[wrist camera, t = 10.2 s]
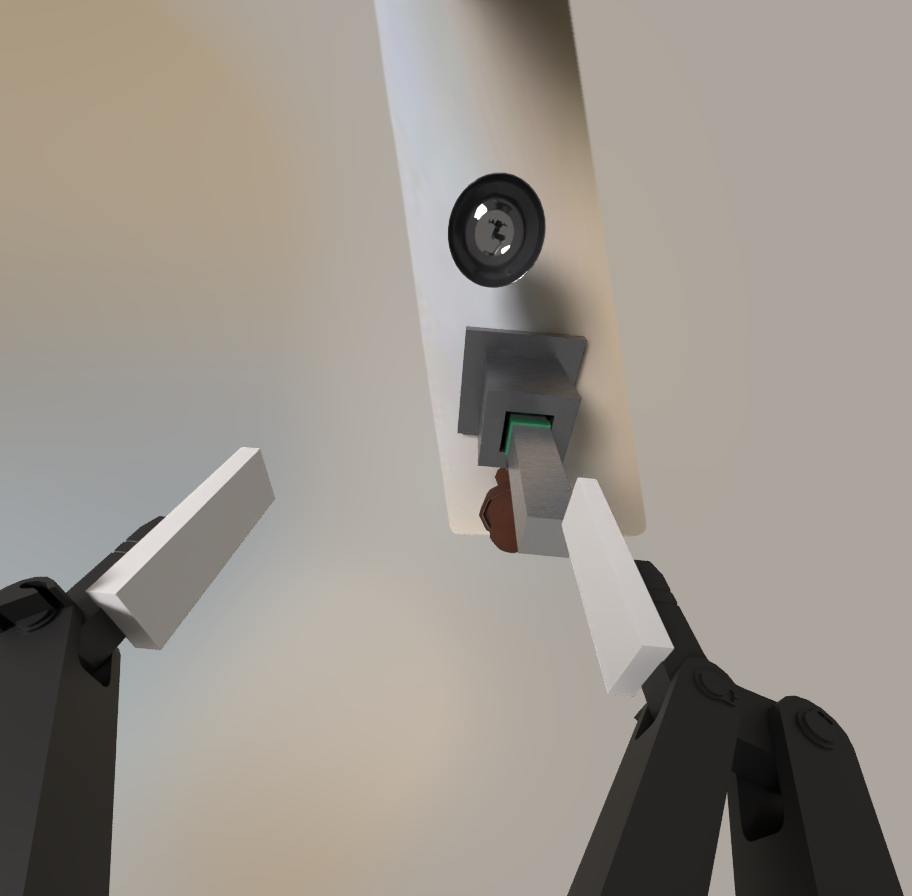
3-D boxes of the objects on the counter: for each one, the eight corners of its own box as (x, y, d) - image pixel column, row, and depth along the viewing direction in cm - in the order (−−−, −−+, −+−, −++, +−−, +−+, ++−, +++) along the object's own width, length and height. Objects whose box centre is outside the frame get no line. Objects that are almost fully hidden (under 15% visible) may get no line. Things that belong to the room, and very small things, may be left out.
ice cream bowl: (540, 499, 62) (555, 568, 50) (479, 499, 63) (479, 567, 51) (545, 451, 56) (564, 515, 44) (478, 452, 57) (478, 515, 45)
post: (506, 394, 42) (525, 515, 25) (540, 397, 42) (584, 520, 25) (501, 424, 45) (516, 553, 27) (534, 427, 45) (569, 559, 27)
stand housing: (466, 326, 46) (461, 362, 34) (583, 336, 46) (621, 376, 34) (458, 427, 55) (451, 486, 43) (556, 436, 55) (578, 497, 42)
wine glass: (539, 223, 39) (567, 221, 27) (495, 283, 43) (502, 307, 31) (485, 172, 37) (488, 144, 25) (444, 241, 41) (428, 247, 28)
